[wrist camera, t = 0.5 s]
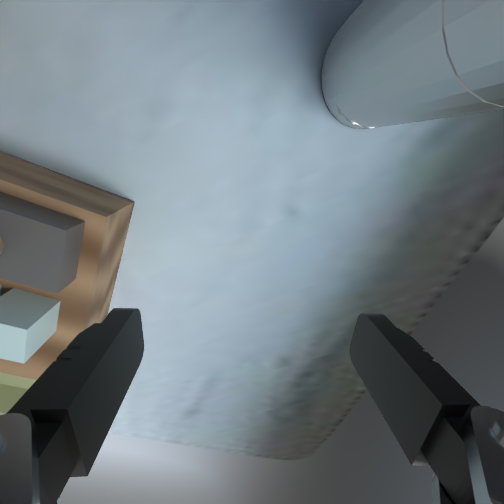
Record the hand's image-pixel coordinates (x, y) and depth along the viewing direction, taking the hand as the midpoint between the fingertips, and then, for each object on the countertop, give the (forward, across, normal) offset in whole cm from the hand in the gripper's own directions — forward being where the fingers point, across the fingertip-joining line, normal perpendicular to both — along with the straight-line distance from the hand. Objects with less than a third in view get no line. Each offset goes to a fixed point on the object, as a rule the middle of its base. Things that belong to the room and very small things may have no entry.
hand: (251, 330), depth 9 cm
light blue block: (+14, +20, +9) cm, 26 cm away
